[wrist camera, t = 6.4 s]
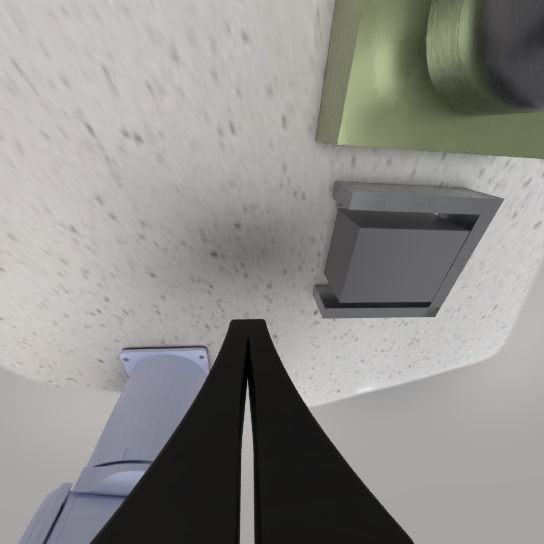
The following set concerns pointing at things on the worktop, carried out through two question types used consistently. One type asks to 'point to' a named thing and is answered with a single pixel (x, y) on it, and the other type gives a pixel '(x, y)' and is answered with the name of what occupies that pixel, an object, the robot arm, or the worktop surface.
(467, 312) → the worktop surface
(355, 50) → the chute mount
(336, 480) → the robot arm
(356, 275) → the grey block
